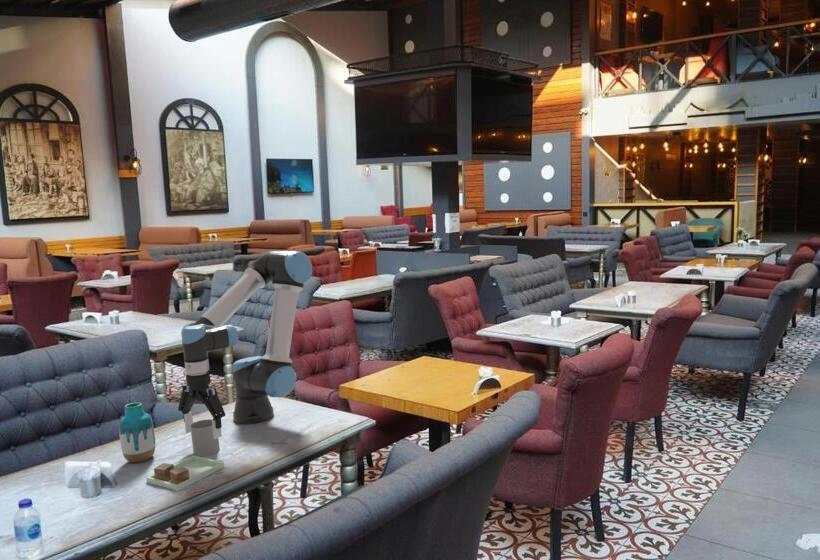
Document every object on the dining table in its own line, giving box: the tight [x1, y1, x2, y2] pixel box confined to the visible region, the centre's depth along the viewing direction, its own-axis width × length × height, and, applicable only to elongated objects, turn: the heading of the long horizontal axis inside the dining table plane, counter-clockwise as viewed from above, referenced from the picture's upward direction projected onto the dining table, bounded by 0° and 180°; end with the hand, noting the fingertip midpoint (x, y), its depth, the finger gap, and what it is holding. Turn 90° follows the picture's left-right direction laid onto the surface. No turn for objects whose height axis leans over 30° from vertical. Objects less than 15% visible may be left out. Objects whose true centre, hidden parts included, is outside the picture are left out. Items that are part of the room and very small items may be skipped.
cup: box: [190, 418, 220, 457], centre depth 223 cm, size 8×8×10 cm
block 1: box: [153, 462, 174, 482], centre depth 203 cm, size 4×4×4 cm
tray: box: [145, 454, 225, 492], centre depth 206 cm, size 18×14×2 cm
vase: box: [118, 401, 156, 463], centre depth 220 cm, size 11×11×19 cm
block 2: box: [170, 466, 189, 485], centre depth 200 cm, size 4×4×4 cm
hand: (203, 434), depth 223 cm, fingers open, 13 cm apart
